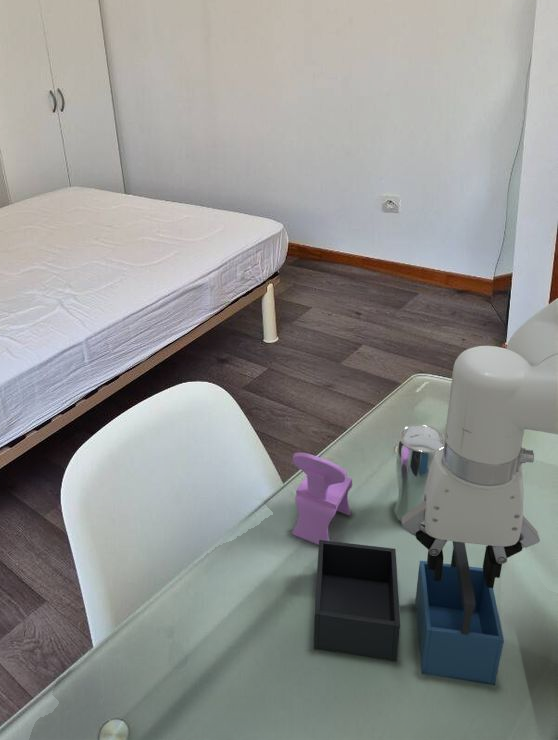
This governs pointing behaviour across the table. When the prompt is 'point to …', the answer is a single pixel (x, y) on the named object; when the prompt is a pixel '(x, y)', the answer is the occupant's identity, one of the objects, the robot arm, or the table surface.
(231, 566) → the table surface
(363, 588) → the charcoal bin
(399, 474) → the beer glass
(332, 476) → the toy chair
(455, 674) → the blue bin
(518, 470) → the robot arm
